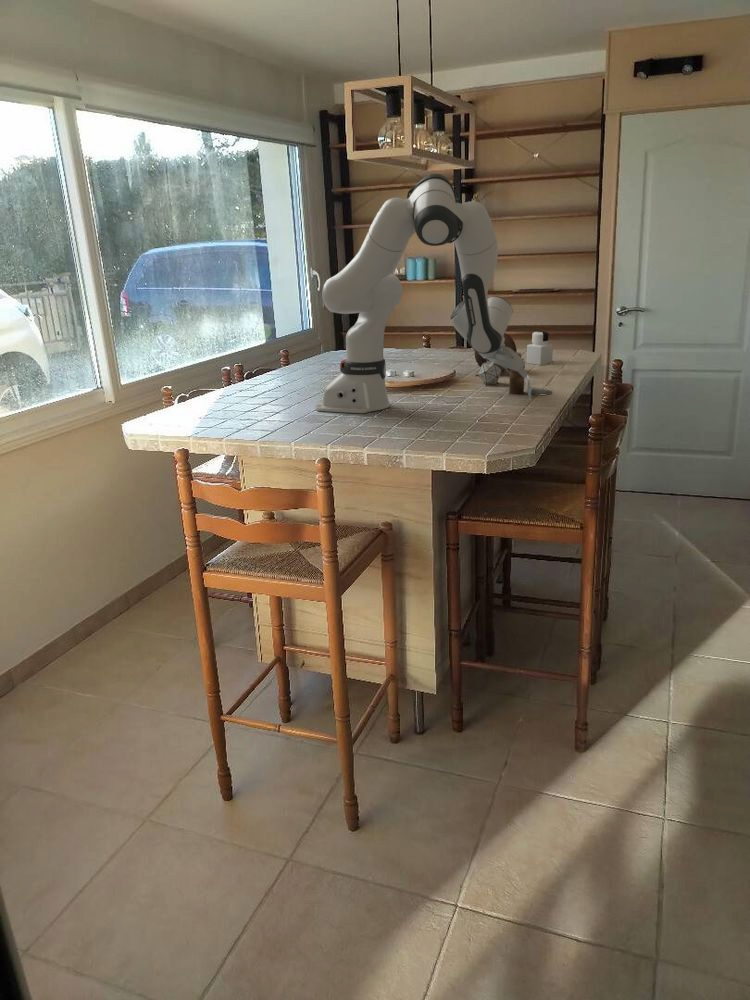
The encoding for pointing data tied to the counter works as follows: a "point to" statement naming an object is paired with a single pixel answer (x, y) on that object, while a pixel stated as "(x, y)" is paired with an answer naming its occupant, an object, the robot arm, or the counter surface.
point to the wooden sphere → (507, 342)
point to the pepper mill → (516, 381)
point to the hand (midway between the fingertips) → (518, 373)
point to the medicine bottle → (539, 349)
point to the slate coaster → (540, 391)
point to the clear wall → (528, 386)
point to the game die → (489, 372)
